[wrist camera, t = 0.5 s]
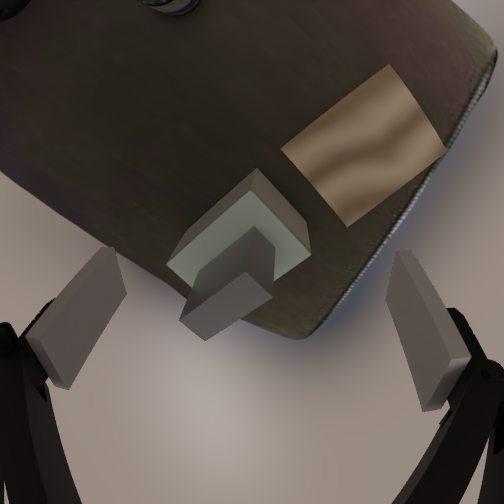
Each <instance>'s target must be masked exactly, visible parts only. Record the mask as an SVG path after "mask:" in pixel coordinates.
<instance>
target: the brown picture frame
mask: <svg viewBox="0 0 504 504" xmlns="http://www.w3.org/2000/svg"><path fill="white" fill-rule="evenodd" d="M280 149H281V150H282V151H283V152H284V154H285V155H286V156H287V157H288V158H289V159H290V160H291V161H292V162H293V164H294V165H295V166H296V167H297V168H298V169H299V170H300V171H301V173H302V174H303V175H304V176H305V177H306V178H307V180H308V181H309V182H310V183H311V184H312V185H313V186H314V188H315V189H316V190H317V191H318V192H319V194H320V195H321V196H322V197H323V198H324V199H325V201H326V202H327V203H328V204H329V205H330V207H331V208H332V209H333V210H334V211H335V213H336V214H337V215H338V216H339V218H340V219H341V220H342V221H343V223H344V224H345V225H346V226H347V227H348V226H350V225H351V224H352V223H354V222H355V221H356V220H358V219H359V218H360V217H362V216H363V215H365V214H366V213H367V212H369V211H370V210H371V209H373V208H374V207H375V206H377V205H378V204H379V203H381V202H382V201H383V200H385V199H386V198H387V197H389V196H390V195H391V194H393V193H394V192H395V191H396V190H398V189H399V188H400V187H402V186H403V185H404V184H406V183H407V182H408V181H410V180H411V179H412V178H414V177H415V176H416V175H417V174H419V173H420V172H421V171H423V170H424V169H425V168H426V167H428V166H429V165H430V164H432V163H433V162H434V161H435V160H437V159H438V158H439V157H441V156H442V155H443V154H444V153H446V152H447V150H446V148H445V147H444V145H443V143H442V141H441V140H440V138H439V136H438V135H437V133H436V131H435V130H434V128H433V126H432V125H431V123H430V122H429V120H428V118H427V117H426V115H425V114H424V112H423V111H422V109H421V108H420V106H419V105H418V103H417V102H416V100H415V99H414V97H413V96H412V94H411V93H410V91H409V90H408V89H407V87H406V86H405V84H404V83H403V82H402V80H401V79H400V78H399V76H398V75H397V73H396V72H395V71H394V70H393V68H392V67H391V66H390V64H387V65H386V66H384V67H383V68H382V69H380V70H379V71H378V72H376V73H375V74H374V75H372V76H371V77H370V78H368V79H367V80H366V81H364V82H363V83H362V84H360V85H359V86H358V87H356V88H355V89H354V90H352V91H351V92H350V93H348V94H347V95H346V96H345V97H343V98H342V99H341V100H339V101H338V102H337V103H336V104H334V105H333V106H332V107H330V108H329V109H328V110H327V111H325V112H324V113H323V114H322V115H320V116H319V117H318V118H317V119H315V120H314V121H313V122H312V123H310V124H309V125H308V126H307V127H305V128H304V129H303V130H302V131H300V132H299V133H298V134H297V135H296V136H294V137H293V138H292V139H291V140H289V141H288V142H287V143H286V144H285V145H283V146H282V147H281V148H280Z"/></svg>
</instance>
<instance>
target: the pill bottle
mask: <svg viewBox="0 0 504 504" xmlns="http://www.w3.org/2000/svg"><path fill="white" fill-rule="evenodd" d="M137 1H139V2H141V3H142V4H145V5H147V6H149V7H151V8H153V9H156V10H158V11H160V12H162V13H164V14H166V15H170V16H179V15H183V14H186V13H188V12H190V11H191V10H193V9H194V8H195V7H196V5H197V4H198V2H199V0H137Z"/></svg>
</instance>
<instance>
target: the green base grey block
mask: <svg viewBox="0 0 504 504" xmlns="http://www.w3.org/2000/svg"><path fill="white" fill-rule="evenodd" d="M310 255H311V250H310V249H309V248H308V247H307V246H306V245H305V244H304V243H303V241H302V240H301V239H300V238H299V237H298V236H297V235H296V234H295V233H294V232H293V231H292V229H291V228H290V227H289V226H288V225H287V224H286V223H285V222H284V221H283V220H282V219H281V218H280V217H279V216H278V214H277V213H276V212H275V211H274V210H273V209H272V208H271V207H270V206H269V205H268V204H267V203H266V202H265V201H264V200H263V199H262V197H261V196H260V195H259V194H258V193H257V192H256V191H255V190H254V189H253V188H252V187H251V188H250V189H248V190H247V191H246V192H245V193H244V194H243V195H241V196H240V197H239V198H238V199H237V200H236V201H234V202H233V203H232V204H231V205H230V206H229V207H227V208H226V209H225V210H224V211H223V212H222V213H221V214H219V215H218V216H217V217H216V218H215V219H214V220H213V221H212V222H210V223H209V224H208V225H207V226H206V227H205V228H204V229H202V230H201V231H200V232H199V233H198V234H197V235H196V236H195V237H194V238H192V239H191V240H190V241H189V242H188V243H187V244H186V245H185V246H184V247H182V248H181V249H180V250H179V251H178V252H177V253H176V254H175V255H174V256H173V257H171V258H170V259H169V260H168V262H167V264H166V265H167V266H169V267H170V268H171V269H172V270H173V271H174V272H175V273H176V274H177V275H179V276H180V277H181V278H182V279H183V280H184V281H185V282H186V283H188V284H189V285H190V286H191V287H192V289H191V291H190V294H189V296H188V299H187V301H186V304H185V307H184V309H183V311H182V314H181V317H180V319H179V321H180V322H182V323H183V324H184V325H185V326H187V327H188V328H189V329H190V330H191V331H193V332H194V333H195V334H196V335H198V336H199V337H200V338H201V339H203V340H204V341H206V340H208V339H209V338H211V337H212V336H214V335H216V334H217V333H218V332H220V331H222V330H223V329H225V328H227V327H228V326H230V325H231V324H233V323H234V322H236V321H237V320H239V319H241V318H242V317H244V316H245V315H247V314H248V313H250V312H251V311H253V310H254V309H256V308H257V307H259V306H260V305H262V304H263V303H265V302H266V301H268V300H269V299H271V298H272V297H273V287H274V281H275V280H276V279H278V278H279V277H281V276H282V275H283V274H285V273H286V272H288V271H289V270H291V269H292V268H293V267H295V266H296V265H298V264H299V263H300V262H302V261H303V260H305V259H306V258H307V257H309V256H310Z"/></svg>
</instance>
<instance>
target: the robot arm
mask: <svg viewBox="0 0 504 504" xmlns="http://www.w3.org/2000/svg"><path fill="white" fill-rule="evenodd" d="M29 1H30V0H0V20H6V19H9V18H11V17H13V16H14V15H16V14H17V13H18V12H19V11H21V10H22V9H23V8H24V7H25V6H26V5H27V3H28V2H29ZM126 294H127V293H126V290H125V286H124V283H123V279H122V276H121V272H120V269H119V265H118V261H117V258H116V253H115V249H114V247H106V248H105V247H101V248H100V249H99V250H98V252H96V254H95V255H94V256H93V257H92V258H91V259H90V260H89V261H88V262H87V263H86V264H85V265H84V267H83V268H82V269H81V270H80V271H79V272H78V273H77V274H76V275H75V277H74V278H73V279H72V280H71V281H70V282H69V283H68V285H67V286H66V287H65V288H64V289H63V290H62V292H61V293H60V294H59V295H58V296H57V297H56V298H54V299H53V300H51V301H50V302H48V303H47V304H46V305H45V306H44V307H43V308H42V310H41V311H40V313H38V314H37V316H36V317H35V319H34V320H32V322H31V323H30V324H29V325H28V327H27V328H26V329H25V331H24V332H23V333H22V334H21V336H20V337H19V338H18V337H17V335H16V333H15V331H14V329H13V328H12V326H11V324H9V323H8V322H3V323H0V504H4V481H5V486H6V491H7V496H8V500H9V504H82V503H81V500H80V497H79V495H78V492H77V489H76V487H75V484H74V481H73V478H72V475H71V473H70V469H69V466H68V463H67V460H66V457H65V454H64V450H63V447H62V444H61V440H60V436H59V432H58V428H57V425H56V420H55V416H54V412H53V408H52V403H51V398H50V393H49V389H48V386H47V384H46V383H45V381H46V380H47V378H48V377H49V378H50V379H51V381H52V383H53V384H54V386H56V387H59V388H63V389H66V390H69V389H70V387H71V385H72V383H73V382H74V380H75V378H76V376H77V375H78V373H79V371H80V369H81V368H82V366H83V364H84V362H85V361H86V359H87V357H88V356H89V354H90V352H91V351H92V349H93V347H94V345H95V344H96V342H97V340H98V339H99V337H100V335H101V334H102V332H103V331H104V329H105V327H106V326H107V324H108V323H109V321H110V319H111V318H112V316H113V314H114V313H115V311H116V310H117V308H118V307H119V305H120V303H121V302H122V300H123V299H124V297H125V296H126ZM386 302H387V305H388V307H389V310H390V313H391V315H392V318H393V321H394V324H395V326H396V329H397V332H398V335H399V337H400V341H401V344H402V346H403V350H404V353H405V356H406V358H407V362H408V365H409V368H410V371H411V374H412V377H413V380H414V384H415V387H416V391H417V394H418V397H419V401H420V404H421V408H422V411H423V412H426V411H432V410H438V409H441V408H442V406H443V405H444V403H445V402H446V400H448V403H449V406H450V409H449V410H448V412H447V413H446V415H445V416H444V417H443V419H442V420H441V422H440V423H439V424H440V427H439V429H438V431H437V433H436V434H435V436H434V438H433V440H432V442H431V443H430V445H429V447H428V449H427V450H426V452H425V454H424V455H423V457H422V459H421V460H420V462H419V464H418V465H417V467H416V469H415V470H414V472H413V473H412V475H411V476H410V478H409V480H408V481H407V482H406V484H405V485H404V487H403V488H402V490H401V491H400V493H399V494H398V495H397V497H396V498H395V500H394V501H393V502H392V504H459V502H460V501H461V499H462V497H463V495H464V493H465V491H466V489H467V486H468V485H469V482H470V480H471V478H472V476H473V474H474V472H475V469H476V467H477V465H478V463H479V460H480V458H481V456H482V453H483V451H484V448H485V445H486V443H487V440H488V438H489V443H488V450H487V458H486V463H485V469H484V475H483V481H482V485H481V490H480V494H479V499H478V503H477V504H504V369H503V367H502V366H501V365H500V364H499V363H497V362H495V361H493V360H489V359H487V357H486V355H485V354H484V351H483V349H482V348H481V346H480V344H479V342H478V340H477V338H476V336H475V335H474V334H473V331H472V329H471V328H470V327H469V324H468V322H467V321H466V319H465V317H464V316H463V314H461V313H460V312H459V311H458V310H457V309H456V308H446V307H445V305H444V304H443V302H442V300H441V298H440V297H439V295H438V293H437V291H436V290H435V288H434V286H433V285H432V283H431V281H430V280H429V278H428V276H427V275H426V273H425V271H424V270H423V268H422V267H421V265H420V264H419V262H418V260H417V259H416V257H415V255H414V254H413V252H412V251H411V250H396V252H395V258H394V263H393V268H392V273H391V278H390V282H389V287H388V291H387V296H386Z"/></svg>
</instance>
